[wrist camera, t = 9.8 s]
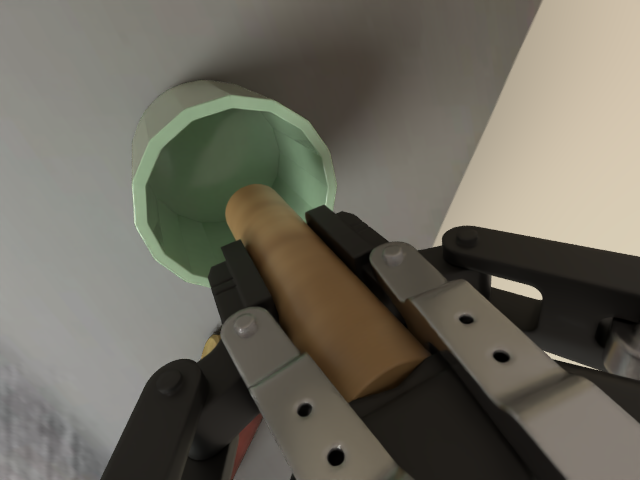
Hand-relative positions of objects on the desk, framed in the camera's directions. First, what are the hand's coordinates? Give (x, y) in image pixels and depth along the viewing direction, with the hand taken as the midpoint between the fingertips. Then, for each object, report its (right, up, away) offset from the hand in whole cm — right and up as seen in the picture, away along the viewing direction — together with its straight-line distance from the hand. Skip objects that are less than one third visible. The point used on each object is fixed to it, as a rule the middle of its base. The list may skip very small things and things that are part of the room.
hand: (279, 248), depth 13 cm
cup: (-5, +5, +10) cm, 12 cm away
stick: (-1, +2, +3) cm, 3 cm away
